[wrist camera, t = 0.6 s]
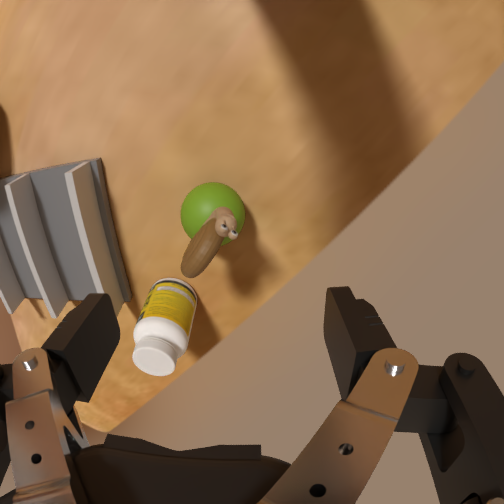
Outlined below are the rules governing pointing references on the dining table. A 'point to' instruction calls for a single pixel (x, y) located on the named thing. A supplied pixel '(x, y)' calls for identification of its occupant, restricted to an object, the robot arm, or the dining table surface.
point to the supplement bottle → (164, 326)
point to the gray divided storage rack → (59, 238)
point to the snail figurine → (209, 224)
